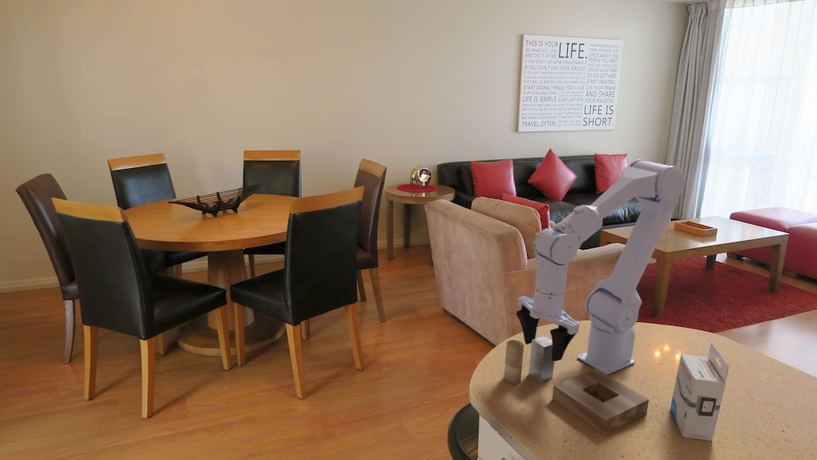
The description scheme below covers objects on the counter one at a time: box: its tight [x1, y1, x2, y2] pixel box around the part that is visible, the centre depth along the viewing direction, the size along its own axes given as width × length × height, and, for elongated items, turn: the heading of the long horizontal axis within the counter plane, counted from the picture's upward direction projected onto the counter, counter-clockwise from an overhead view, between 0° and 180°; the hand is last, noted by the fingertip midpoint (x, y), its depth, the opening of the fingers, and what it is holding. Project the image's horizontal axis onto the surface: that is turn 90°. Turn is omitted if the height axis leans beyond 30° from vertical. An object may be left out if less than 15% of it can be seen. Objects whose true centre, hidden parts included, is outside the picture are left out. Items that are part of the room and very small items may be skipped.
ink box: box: [670, 342, 730, 442], centre depth 91 cm, size 9×5×15 cm, turn 168°
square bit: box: [528, 335, 555, 383], centre depth 106 cm, size 3×3×8 cm
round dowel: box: [503, 339, 525, 385], centre depth 105 cm, size 3×3×8 cm
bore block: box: [551, 368, 650, 436], centre depth 97 cm, size 12×12×3 cm
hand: (542, 350), depth 106 cm, fingers open, 7 cm apart
